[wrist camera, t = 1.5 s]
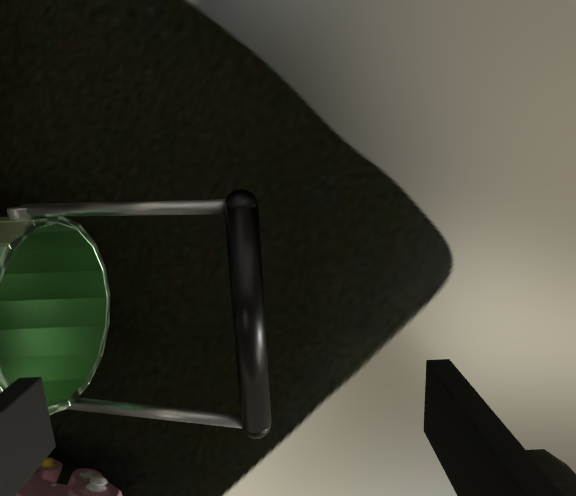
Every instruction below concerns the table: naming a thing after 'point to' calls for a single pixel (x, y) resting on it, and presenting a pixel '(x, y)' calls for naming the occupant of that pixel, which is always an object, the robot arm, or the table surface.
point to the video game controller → (80, 489)
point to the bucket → (96, 306)
